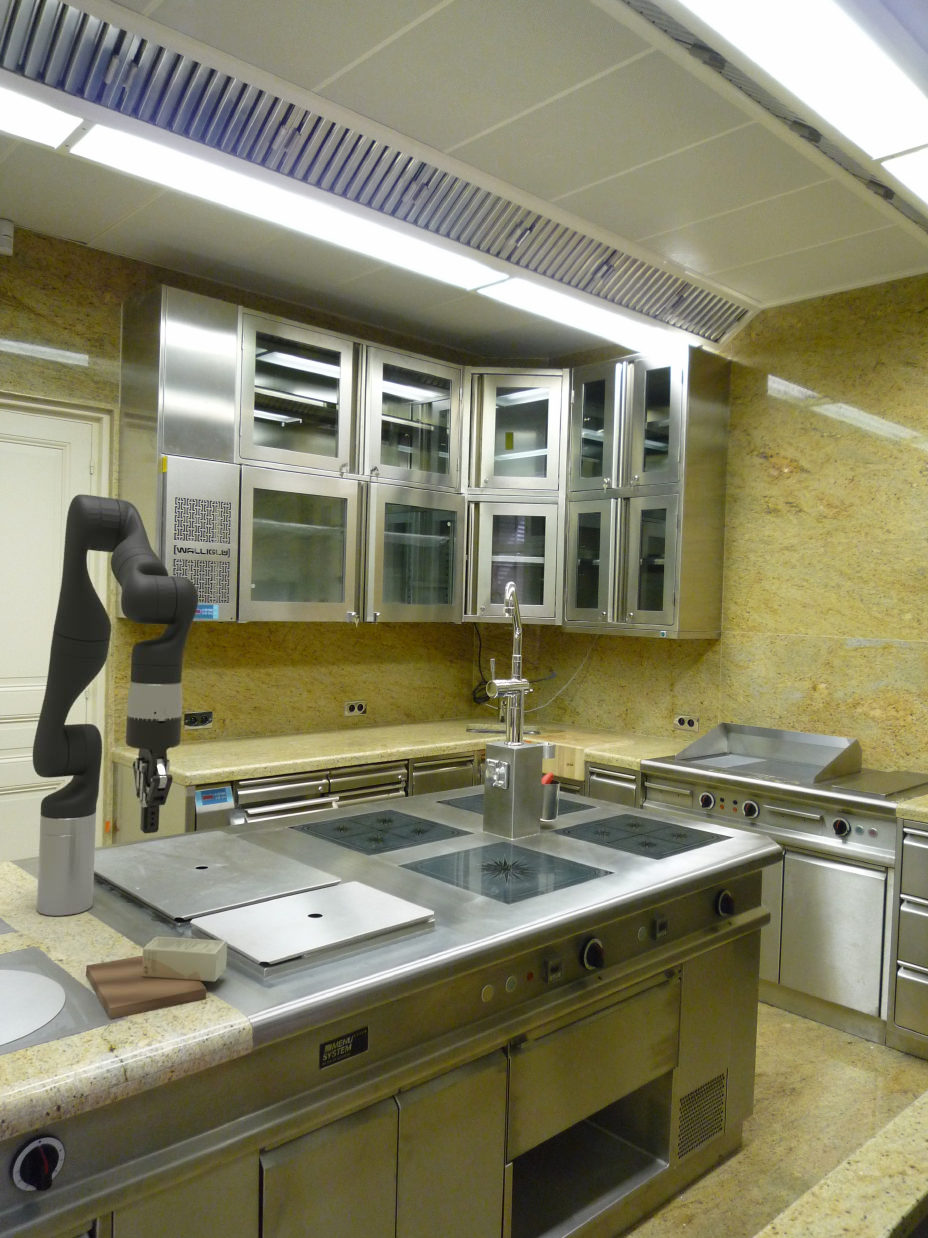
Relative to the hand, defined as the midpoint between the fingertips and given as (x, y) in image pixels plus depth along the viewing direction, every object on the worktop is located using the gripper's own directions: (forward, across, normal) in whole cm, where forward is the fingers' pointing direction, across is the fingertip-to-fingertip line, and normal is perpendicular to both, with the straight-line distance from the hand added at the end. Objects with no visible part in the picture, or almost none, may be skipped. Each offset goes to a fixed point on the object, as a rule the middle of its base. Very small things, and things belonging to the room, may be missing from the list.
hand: (149, 831), depth 128 cm
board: (+23, 0, 0) cm, 23 cm away
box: (+19, -2, +1) cm, 19 cm away
